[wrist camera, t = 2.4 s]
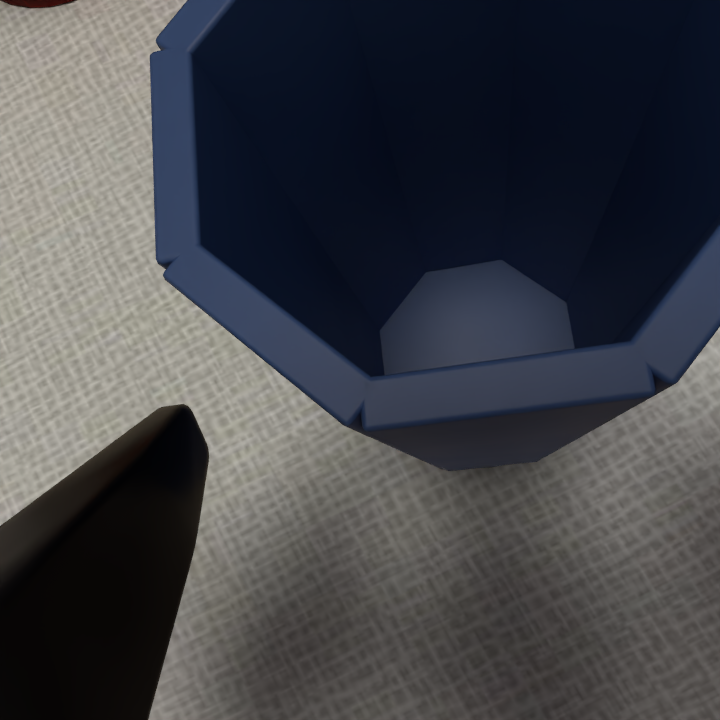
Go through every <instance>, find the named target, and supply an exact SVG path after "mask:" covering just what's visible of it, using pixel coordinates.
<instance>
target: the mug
mask: <svg viewBox="0 0 720 720" xmlns="http://www.w3.org/2000/svg"><path fill="white" fill-rule="evenodd" d="M1 1H4V2H6V3H9V4H11V5H17V6H23V7H29V8H32V7H51V6H55V5H59V4H63V3H67V2H71V1H74V0H1Z"/></svg>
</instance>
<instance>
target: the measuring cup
mask: <svg viewBox="0 0 720 720" xmlns="http://www.w3.org/2000/svg"><path fill="white" fill-rule="evenodd" d="M156 43H157V45H158V47H159V48H160V49H161V51H157V52H153V53H152V54H151V55H150V77H151V110H152V143H153V176H154V209H155V242H156V260H157V262H158V264H159V265H161V266H162V267H164V268H165V269H166V270H165V272H164V274H163V276H164V278H165V280H166V281H167V282H169V283H170V284H171V285H172V286H174V287H175V288H176V289H177V290H179V291H180V292H181V293H182V294H183V295H185V296H186V297H187V298H188V299H190V300H191V301H192V302H193V303H194V304H196V305H197V306H198V307H199V308H201V309H202V310H203V311H204V312H205V313H207V314H208V315H209V316H210V317H212V318H213V319H214V320H215V321H216V322H218V323H219V324H220V325H221V326H223V327H224V328H225V329H226V330H227V331H229V332H230V333H231V334H232V335H234V336H235V337H236V338H237V339H239V340H240V341H241V342H242V343H243V344H245V345H246V346H247V347H248V348H250V349H251V350H252V351H253V352H254V353H256V354H257V355H258V356H259V357H261V358H262V359H263V360H264V361H265V362H267V363H268V364H269V365H270V366H272V367H273V368H274V369H275V370H276V371H278V372H279V373H280V374H281V375H283V376H284V377H285V378H286V379H288V380H289V381H290V382H291V383H292V384H294V385H295V386H296V387H297V388H299V389H300V390H301V391H302V392H303V393H305V394H306V395H307V396H308V397H310V398H311V399H312V400H313V401H314V402H316V403H317V404H318V405H319V406H321V407H322V408H323V409H324V410H325V411H327V412H328V413H329V414H330V415H332V416H333V417H334V418H335V419H337V420H338V421H339V422H340V423H341V424H343V425H344V426H346V427H349V428H351V429H353V430H355V431H358V432H360V433H362V434H364V435H366V436H369V437H371V438H373V439H375V440H378V441H380V442H382V443H384V444H387V445H389V446H391V447H393V448H396V449H398V450H400V451H402V452H405V453H407V454H409V455H411V456H414V457H416V458H418V459H420V460H422V461H425V462H427V463H429V464H431V465H434V466H436V467H438V468H440V469H445V470H448V471H456V470H465V469H474V468H485V467H496V466H502V465H510V464H519V463H528V462H537V461H539V460H540V459H542V458H544V457H546V456H548V455H549V454H551V453H553V452H555V451H557V450H558V449H560V448H562V447H564V446H565V445H567V444H569V443H571V442H573V441H574V440H576V439H578V438H580V437H581V436H583V435H585V434H587V433H589V432H590V431H592V430H594V429H596V428H597V427H599V426H601V425H603V424H605V423H606V422H608V421H610V420H612V419H613V418H615V417H617V416H619V415H620V414H622V413H624V412H626V411H628V410H629V409H631V408H633V407H635V406H636V405H638V404H640V403H642V402H644V401H645V400H647V399H649V398H651V397H652V396H654V395H656V394H658V393H660V392H661V391H663V390H665V389H667V388H668V387H670V386H672V385H674V384H676V383H677V382H678V381H679V380H680V378H681V377H682V376H683V374H684V373H685V372H686V370H687V369H688V368H689V366H690V365H691V364H692V362H693V361H694V360H695V359H696V357H697V356H698V355H699V353H700V352H701V351H702V349H703V348H704V347H705V345H706V344H707V343H708V341H709V340H710V339H711V338H712V336H713V335H714V334H715V332H716V331H717V330H718V328H719V327H720V0H187V2H186V3H185V4H184V5H183V6H182V8H181V9H180V10H179V11H178V12H177V14H176V15H175V16H174V17H173V19H172V20H171V21H170V22H169V23H168V25H167V26H166V27H165V28H164V30H163V31H162V32H161V33H160V34H159V36H158V37H157V39H156Z"/></svg>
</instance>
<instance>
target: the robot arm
mask: <svg viewBox="0 0 720 720" xmlns="http://www.w3.org/2000/svg"><path fill="white" fill-rule="evenodd" d="M208 462H209V451H208V446H207V443H206V441H205V439H204V437H203V434H202V432H201V430H200V428H199V425H198V423H197V421H196V419H195V417H194V414H193V412H192V411H191V409H190V408H189V407H188V406H186V405H184V404H180V405H173V406H165V407H161V408H159V409H157V410H156V411H154V412H153V413H152V414H150V415H149V416H148V417H146V418H145V419H144V420H142V421H141V422H140V423H138V424H137V425H136V426H134V427H133V428H131V429H130V430H129V431H127V432H126V433H125V434H123V435H122V436H121V437H119V438H118V439H117V440H115V441H114V442H113V443H111V444H110V445H109V446H107V447H106V448H105V449H103V450H102V451H101V452H99V453H98V454H97V455H95V456H94V457H93V458H91V459H90V460H88V461H87V462H86V463H84V464H83V465H82V466H80V467H79V468H78V469H76V470H75V471H74V472H72V473H71V474H70V475H68V476H67V477H66V478H64V479H63V480H62V481H60V482H59V483H58V484H56V485H55V486H54V487H52V488H51V489H50V490H48V491H47V492H45V493H44V494H43V495H41V496H40V497H39V498H37V499H36V500H35V501H33V502H32V503H31V504H29V505H28V506H27V507H25V508H24V509H23V510H21V511H20V512H19V513H17V514H16V515H15V516H13V517H12V518H11V519H9V520H8V521H6V522H5V523H4V524H2V525H1V526H0V720H148V718H149V714H150V711H151V707H152V703H153V700H154V696H155V692H156V689H157V685H158V681H159V678H160V674H161V670H162V667H163V663H164V659H165V656H166V652H167V648H168V645H169V641H170V637H171V634H172V630H173V627H174V623H175V619H176V616H177V612H178V608H179V605H180V601H181V597H182V594H183V590H184V586H185V583H186V579H187V575H188V572H189V568H190V564H191V561H192V557H193V553H194V548H195V544H196V538H197V533H198V527H199V520H200V514H201V507H202V501H203V494H204V488H205V481H206V475H207V468H208Z"/></svg>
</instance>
